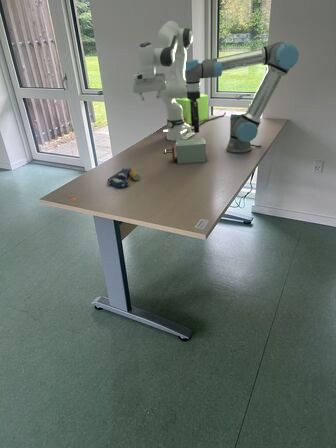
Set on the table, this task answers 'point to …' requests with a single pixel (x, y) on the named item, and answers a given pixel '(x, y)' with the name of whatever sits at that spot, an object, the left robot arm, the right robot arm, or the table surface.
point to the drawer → (171, 152)
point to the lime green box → (201, 108)
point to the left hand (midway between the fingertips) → (150, 99)
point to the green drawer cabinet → (191, 151)
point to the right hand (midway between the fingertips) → (195, 129)
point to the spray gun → (123, 177)
